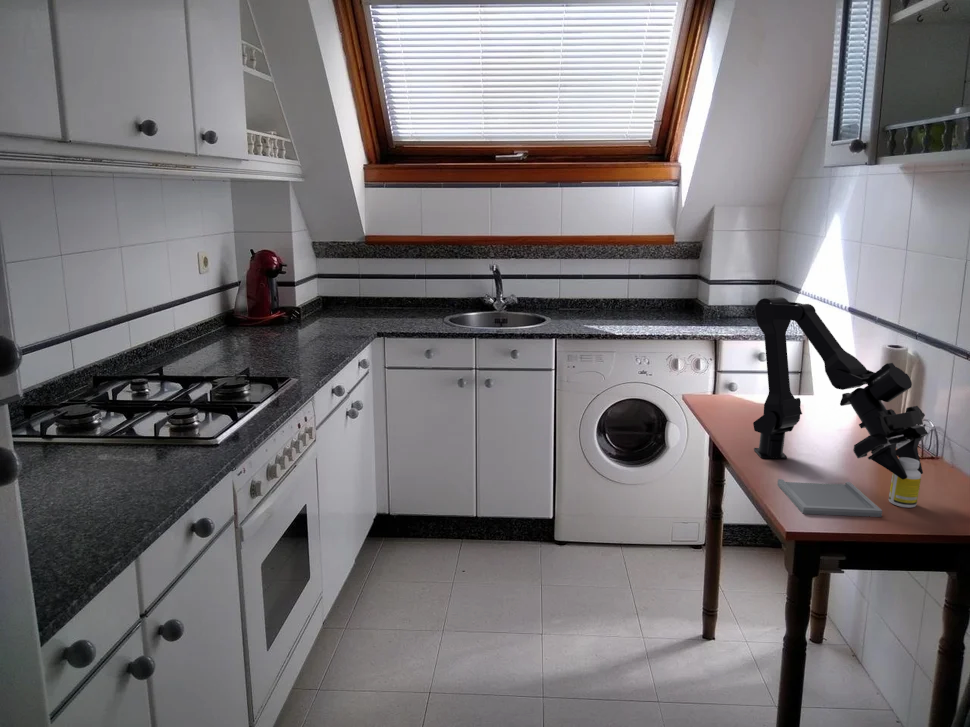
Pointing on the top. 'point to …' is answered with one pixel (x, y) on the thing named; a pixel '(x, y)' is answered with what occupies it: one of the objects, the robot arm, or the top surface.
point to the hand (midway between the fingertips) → (913, 476)
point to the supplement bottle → (906, 484)
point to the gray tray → (829, 499)
